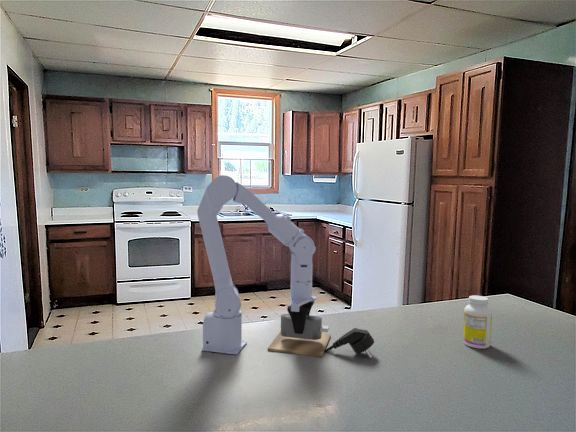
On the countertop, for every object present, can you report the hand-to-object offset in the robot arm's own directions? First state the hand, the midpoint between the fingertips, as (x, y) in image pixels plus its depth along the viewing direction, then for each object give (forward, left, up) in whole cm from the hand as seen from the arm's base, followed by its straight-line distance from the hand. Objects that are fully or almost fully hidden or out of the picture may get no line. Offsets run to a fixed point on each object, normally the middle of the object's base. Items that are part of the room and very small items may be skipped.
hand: (300, 330), depth 109 cm
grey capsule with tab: (0, 0, -1) cm, 1 cm away
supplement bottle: (+46, +12, -4) cm, 47 cm away
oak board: (0, 0, -3) cm, 3 cm away
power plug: (+13, -3, -4) cm, 14 cm away
